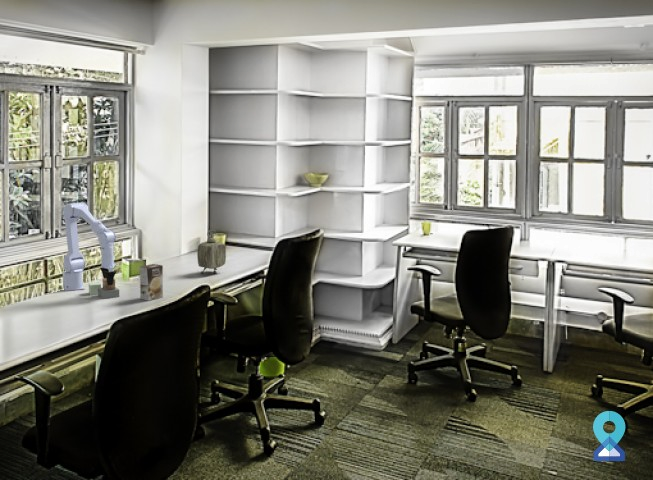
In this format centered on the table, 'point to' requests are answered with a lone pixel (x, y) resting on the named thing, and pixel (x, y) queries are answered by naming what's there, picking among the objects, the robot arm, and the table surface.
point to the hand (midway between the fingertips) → (108, 283)
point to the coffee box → (151, 282)
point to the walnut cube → (108, 287)
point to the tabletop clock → (211, 253)
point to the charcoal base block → (108, 293)
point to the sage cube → (94, 288)
